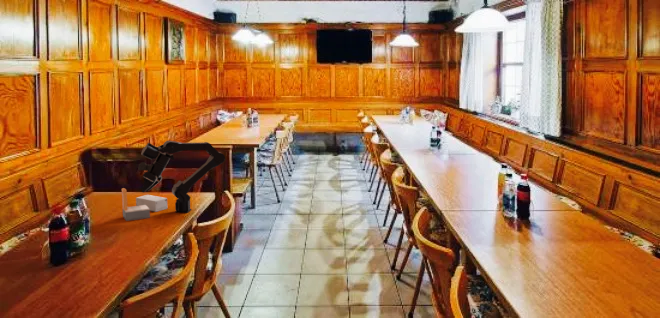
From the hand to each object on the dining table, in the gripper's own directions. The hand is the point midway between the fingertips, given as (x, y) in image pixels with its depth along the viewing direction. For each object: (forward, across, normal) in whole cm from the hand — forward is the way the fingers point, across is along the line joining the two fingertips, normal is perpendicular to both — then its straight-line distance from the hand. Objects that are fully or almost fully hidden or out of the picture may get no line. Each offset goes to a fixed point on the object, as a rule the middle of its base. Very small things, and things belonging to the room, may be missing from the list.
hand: (144, 191), depth 245 cm
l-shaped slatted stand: (+9, +1, +1) cm, 9 cm away
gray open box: (+13, 0, +3) cm, 13 cm away
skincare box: (+7, -20, -2) cm, 22 cm away
